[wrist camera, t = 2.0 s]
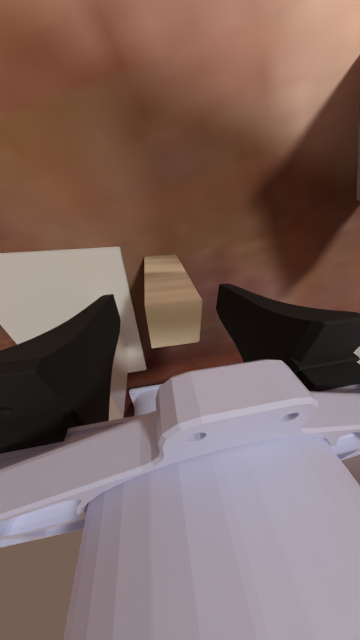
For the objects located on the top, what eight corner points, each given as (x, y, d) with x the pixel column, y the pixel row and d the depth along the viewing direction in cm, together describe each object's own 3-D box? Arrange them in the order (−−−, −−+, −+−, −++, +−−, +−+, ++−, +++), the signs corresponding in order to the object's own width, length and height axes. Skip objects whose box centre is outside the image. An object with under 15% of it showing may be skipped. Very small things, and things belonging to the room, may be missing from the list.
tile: (129, 355, 22) (123, 419, 16) (116, 357, 22) (105, 422, 15) (113, 304, 17) (96, 365, 11) (98, 306, 17) (70, 369, 11)
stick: (176, 283, 18) (199, 341, 10) (148, 286, 17) (151, 348, 10) (175, 254, 16) (202, 300, 9) (144, 256, 15) (144, 306, 8)
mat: (146, 367, 25) (146, 369, 24) (52, 381, 23) (51, 384, 23) (119, 246, 15) (119, 247, 14) (-52, 256, 13) (-57, 257, 13)
